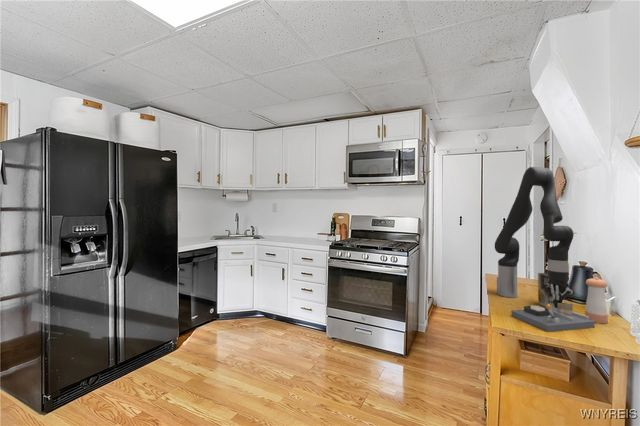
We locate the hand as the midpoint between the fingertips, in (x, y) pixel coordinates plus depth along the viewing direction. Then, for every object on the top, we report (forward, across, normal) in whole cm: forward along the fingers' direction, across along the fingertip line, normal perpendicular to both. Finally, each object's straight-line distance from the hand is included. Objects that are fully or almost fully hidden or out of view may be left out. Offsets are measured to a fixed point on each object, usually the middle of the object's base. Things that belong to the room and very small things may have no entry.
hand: (558, 307), depth 133 cm
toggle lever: (+1, -9, +12) cm, 15 cm away
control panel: (+5, -3, +7) cm, 9 cm away
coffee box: (+5, +14, -12) cm, 19 cm away
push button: (+2, +1, +9) cm, 10 cm away
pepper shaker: (+5, -6, -14) cm, 16 cm away
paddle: (+2, -3, 0) cm, 4 cm away
